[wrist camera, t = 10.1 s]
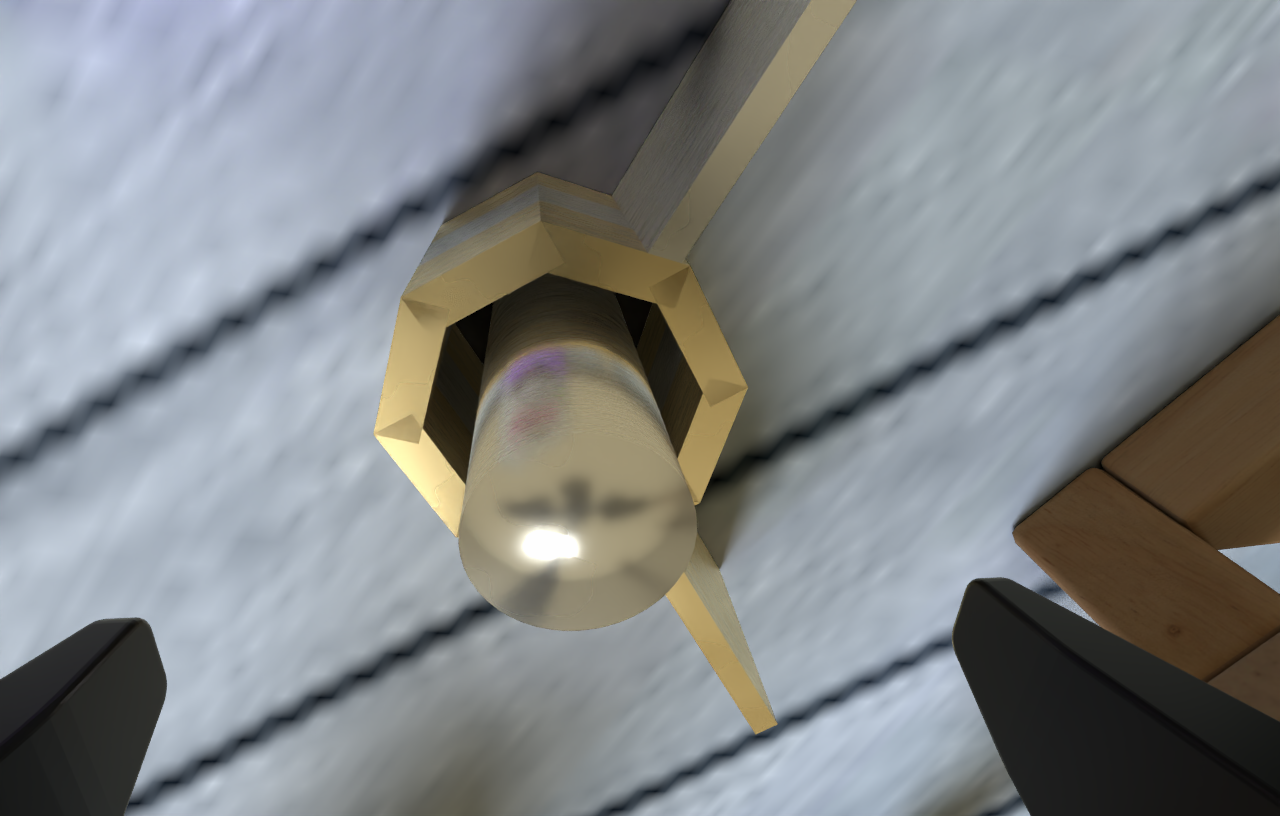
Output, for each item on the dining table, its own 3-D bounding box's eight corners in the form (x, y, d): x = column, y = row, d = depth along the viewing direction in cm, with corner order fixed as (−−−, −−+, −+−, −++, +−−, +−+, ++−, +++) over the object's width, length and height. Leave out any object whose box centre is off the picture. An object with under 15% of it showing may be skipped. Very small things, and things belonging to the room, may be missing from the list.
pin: (637, 332, 19) (733, 567, 10) (533, 388, 19) (537, 663, 10) (580, 227, 18) (631, 390, 9) (468, 287, 18) (408, 506, 9)
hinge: (967, 449, 22) (1106, 570, 17) (624, 617, 23) (652, 782, 18) (795, -93, 15) (938, -179, 10) (317, 180, 16) (214, 236, 11)
